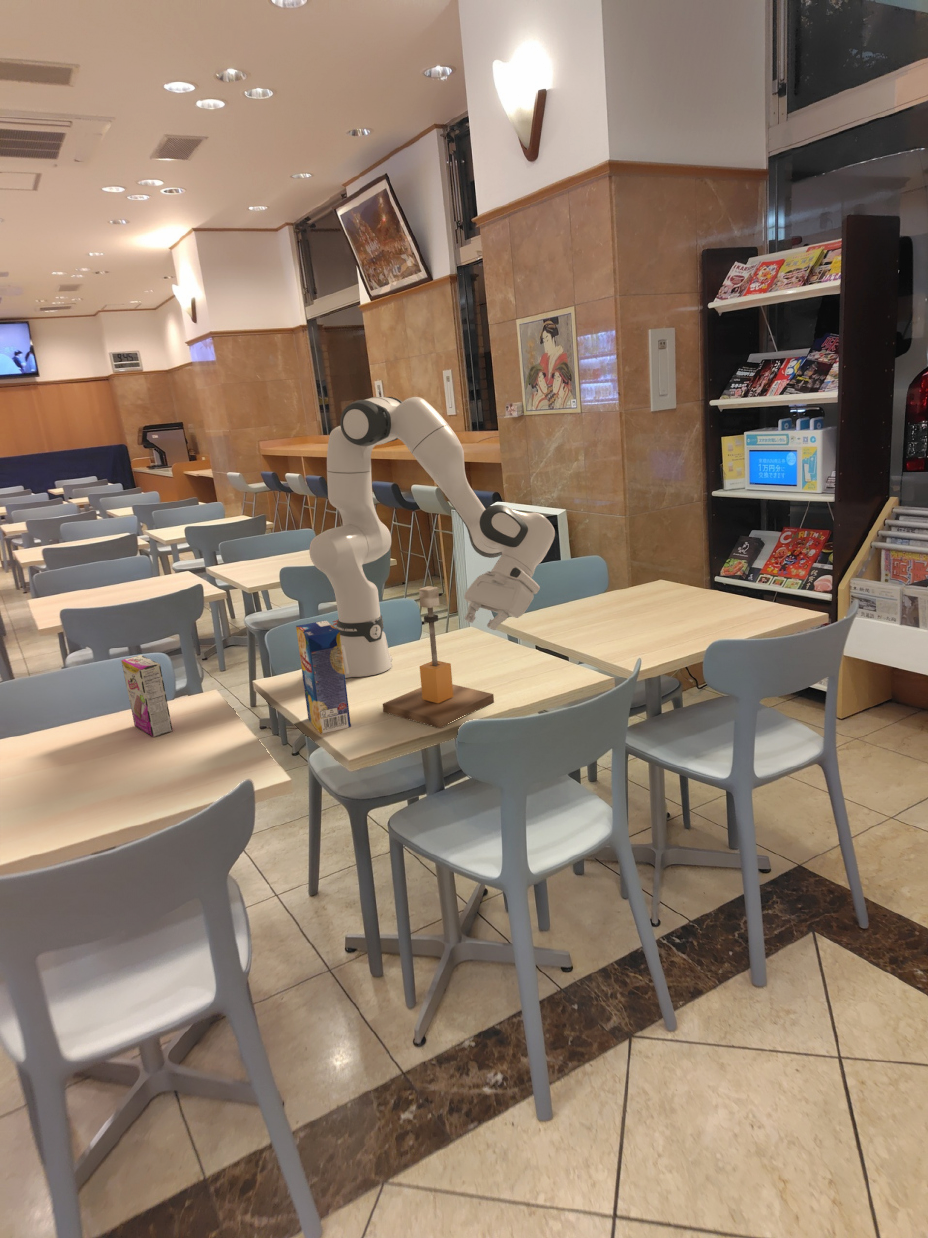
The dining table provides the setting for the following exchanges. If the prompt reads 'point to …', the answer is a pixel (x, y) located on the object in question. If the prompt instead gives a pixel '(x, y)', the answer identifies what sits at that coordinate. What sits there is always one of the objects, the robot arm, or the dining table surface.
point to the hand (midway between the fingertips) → (479, 624)
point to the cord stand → (413, 702)
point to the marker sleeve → (436, 682)
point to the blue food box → (323, 676)
